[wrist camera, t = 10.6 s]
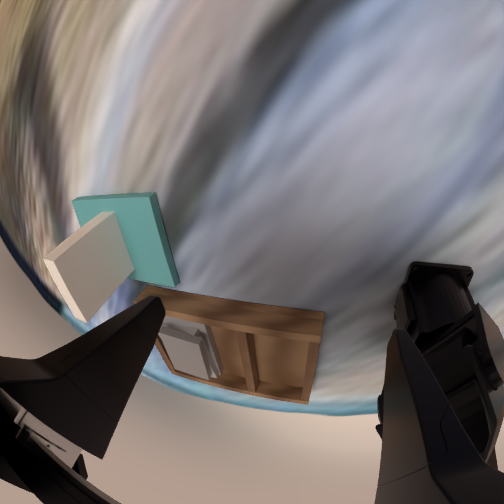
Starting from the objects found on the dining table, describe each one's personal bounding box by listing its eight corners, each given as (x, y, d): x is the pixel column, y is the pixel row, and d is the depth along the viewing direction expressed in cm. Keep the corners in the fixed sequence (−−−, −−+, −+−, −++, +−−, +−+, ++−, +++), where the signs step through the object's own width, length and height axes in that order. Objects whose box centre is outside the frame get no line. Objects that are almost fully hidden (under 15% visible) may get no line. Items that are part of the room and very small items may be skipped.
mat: (155, 192, 22) (149, 197, 22) (179, 281, 28) (175, 287, 27) (77, 197, 26) (71, 200, 25) (104, 267, 31) (99, 272, 30)
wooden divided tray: (324, 311, 25) (321, 336, 22) (311, 385, 33) (307, 404, 30) (147, 285, 30) (133, 301, 28) (179, 358, 38) (171, 373, 36)
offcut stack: (207, 315, 28) (195, 336, 26) (223, 369, 34) (215, 387, 32) (157, 305, 30) (144, 323, 28) (181, 358, 36) (173, 374, 34)
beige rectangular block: (114, 211, 24) (53, 261, 17) (134, 269, 28) (87, 322, 21) (102, 211, 24) (42, 258, 18) (121, 267, 28) (75, 317, 21)
